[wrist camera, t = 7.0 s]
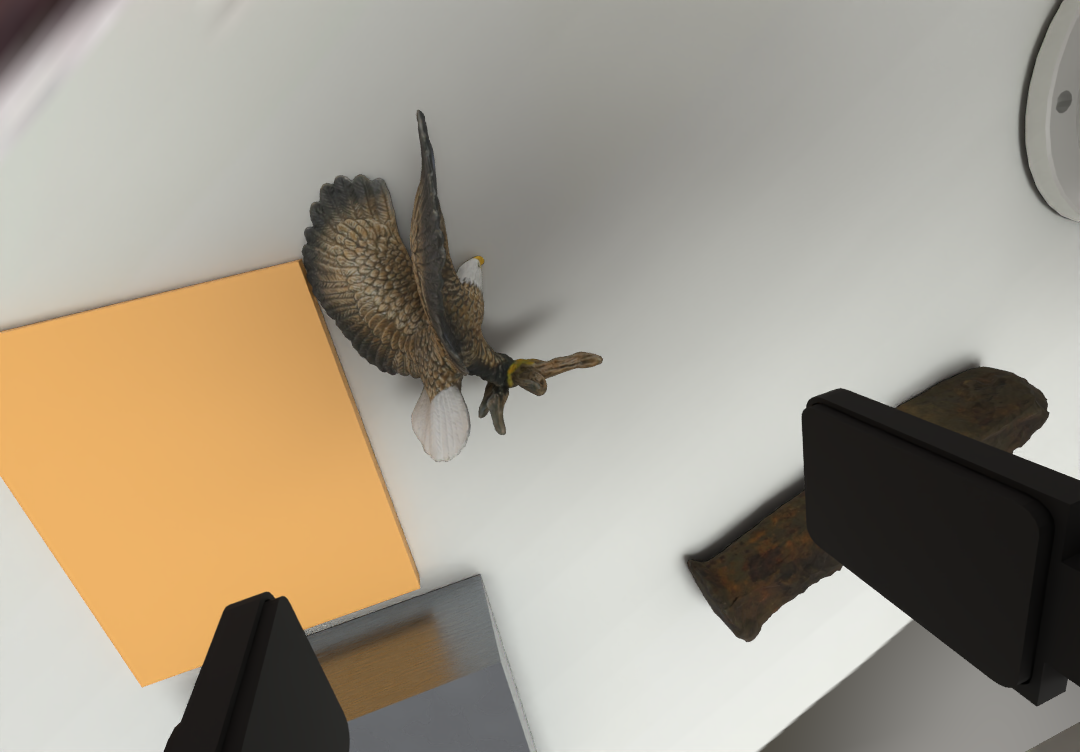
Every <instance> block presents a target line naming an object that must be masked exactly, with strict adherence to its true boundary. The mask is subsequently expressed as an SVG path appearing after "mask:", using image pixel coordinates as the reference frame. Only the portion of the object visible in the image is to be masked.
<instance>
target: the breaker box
mask: <svg viewBox="0 0 1080 752" xmlns="http://www.w3.org/2000/svg"><path fill="white" fill-rule="evenodd" d="M307 638H308V640H309V642H310V645H311V647H312V649H313V651H314V653H315V655H316V657H317V659H318V661H319V663H320V665H321V667H322V669H323V671H324V673H325V675H326V677H327V679H328V681H329V683H330V685H331V687H332V689H333V691H334V694H335V696H336V698H337V700H338V702H339V704H340V706H341V708H342V710H343V712H344V714H345V717H346V719H347V723H348V728H349V735H350V748H349V752H537V750H536V747H535V744H534V741H533V738H532V735H531V732H530V728H529V725H528V722H527V719H526V716H525V713H524V710H523V706H522V703H521V700H520V697H519V694H518V691H517V688H516V685H515V681H514V678H513V675H512V672H511V669H510V666H509V663H508V659H507V656H506V653H505V650H504V647H503V644H502V641H501V638H500V634H499V631H498V628H497V625H496V622H495V619H494V616H493V612H492V609H491V606H490V603H489V600H488V597H487V594H486V591H485V587H484V584H483V581H482V578H481V575H477V576H474V577H471V578H469V579H466V580H463V581H460V582H458V583H455V584H452V585H449V586H446V587H444V588H441V589H438V590H435V591H432V592H430V593H427V594H424V595H421V596H418V597H416V598H413V599H410V600H407V601H404V602H402V603H399V604H396V605H393V606H390V607H388V608H385V609H382V610H379V611H376V612H374V613H371V614H368V615H365V616H363V617H360V618H357V619H354V620H351V621H349V622H346V623H343V624H340V625H337V626H335V627H332V628H329V629H326V630H323V631H321V632H318V633H315V634H312V635H309V636H307Z"/></svg>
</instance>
